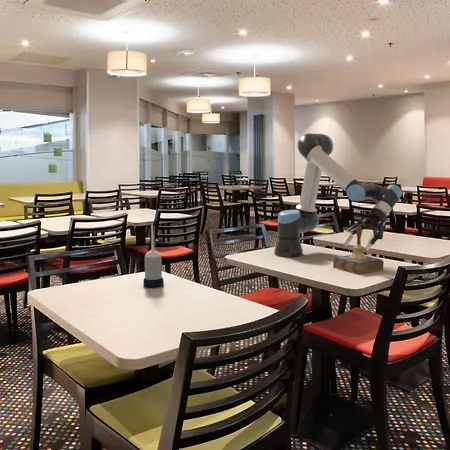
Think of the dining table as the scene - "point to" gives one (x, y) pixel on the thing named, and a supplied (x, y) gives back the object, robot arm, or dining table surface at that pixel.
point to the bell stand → (358, 264)
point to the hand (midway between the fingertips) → (355, 246)
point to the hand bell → (358, 246)
